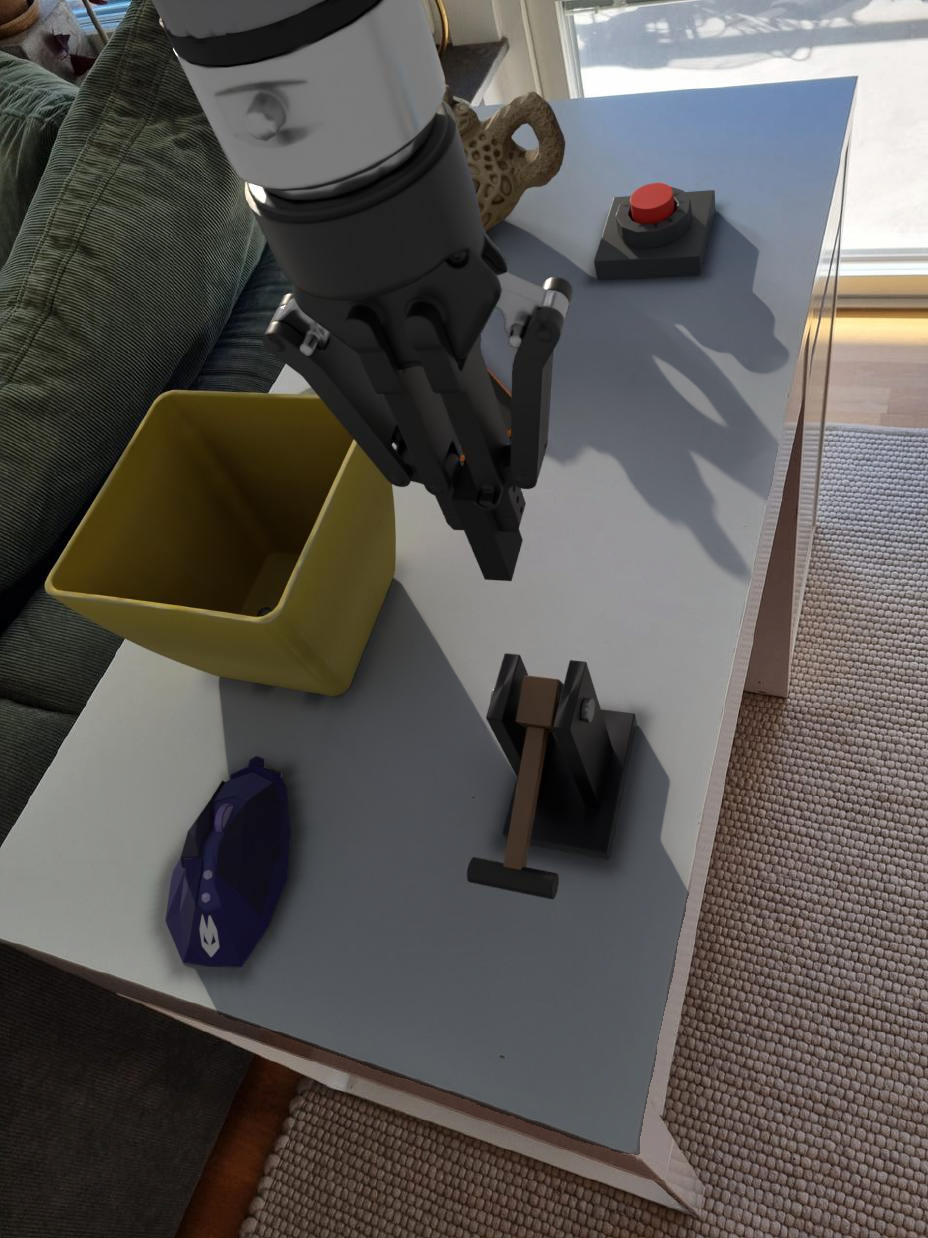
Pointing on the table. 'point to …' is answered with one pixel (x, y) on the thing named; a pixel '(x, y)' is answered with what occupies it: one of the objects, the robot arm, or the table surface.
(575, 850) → the switch bracket
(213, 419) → the flower pot
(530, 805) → the switch lever
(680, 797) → the table surface
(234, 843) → the computer mouse
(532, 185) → the teapot
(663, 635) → the table surface
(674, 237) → the control block
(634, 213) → the power button
